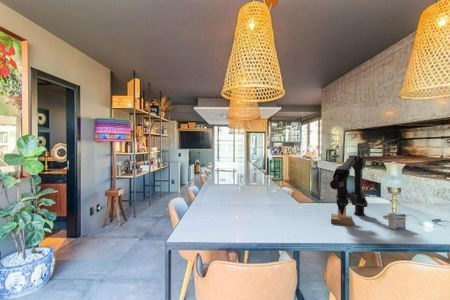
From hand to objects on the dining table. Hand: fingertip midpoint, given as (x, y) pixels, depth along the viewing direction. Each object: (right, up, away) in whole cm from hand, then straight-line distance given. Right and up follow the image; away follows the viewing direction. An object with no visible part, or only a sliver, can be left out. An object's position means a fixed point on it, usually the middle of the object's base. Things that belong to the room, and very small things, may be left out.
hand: (341, 212), depth 152 cm
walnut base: (0, -6, 0) cm, 6 cm away
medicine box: (+27, -7, -11) cm, 30 cm away
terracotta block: (0, -3, 0) cm, 3 cm away
